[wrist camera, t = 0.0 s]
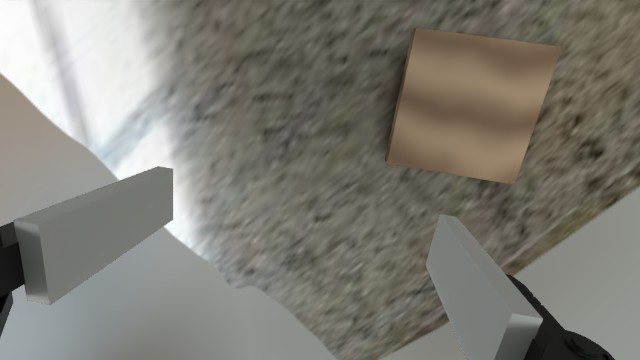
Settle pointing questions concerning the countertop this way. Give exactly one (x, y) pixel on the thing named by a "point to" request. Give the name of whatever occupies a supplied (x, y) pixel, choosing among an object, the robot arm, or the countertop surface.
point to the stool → (469, 104)
